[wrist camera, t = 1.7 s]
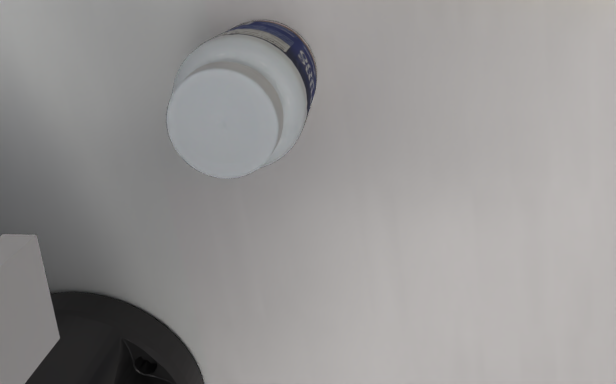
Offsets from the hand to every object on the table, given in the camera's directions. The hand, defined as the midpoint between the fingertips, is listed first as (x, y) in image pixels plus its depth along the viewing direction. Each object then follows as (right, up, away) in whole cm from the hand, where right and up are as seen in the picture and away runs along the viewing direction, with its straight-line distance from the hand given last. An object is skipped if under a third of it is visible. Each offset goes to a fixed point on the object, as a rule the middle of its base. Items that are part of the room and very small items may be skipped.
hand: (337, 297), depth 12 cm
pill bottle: (-3, +8, +16) cm, 18 cm away
